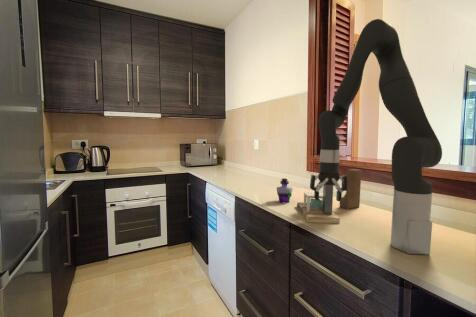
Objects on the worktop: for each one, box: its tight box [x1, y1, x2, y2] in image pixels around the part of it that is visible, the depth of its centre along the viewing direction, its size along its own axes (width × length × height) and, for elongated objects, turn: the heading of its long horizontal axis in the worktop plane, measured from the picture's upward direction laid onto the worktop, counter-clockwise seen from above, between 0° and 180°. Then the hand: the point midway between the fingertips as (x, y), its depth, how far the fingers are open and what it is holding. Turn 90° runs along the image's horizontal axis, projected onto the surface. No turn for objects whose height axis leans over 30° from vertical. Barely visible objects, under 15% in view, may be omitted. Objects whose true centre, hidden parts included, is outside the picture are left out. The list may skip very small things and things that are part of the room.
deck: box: [296, 201, 341, 224], centre depth 106 cm, size 22×12×2 cm, turn 177°
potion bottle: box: [276, 178, 293, 204], centre depth 127 cm, size 9×9×12 cm
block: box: [310, 198, 322, 207], centre depth 107 cm, size 4×4×4 cm
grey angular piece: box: [310, 184, 334, 214], centre depth 104 cm, size 11×8×12 cm
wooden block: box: [339, 168, 362, 210], centre depth 117 cm, size 9×4×18 cm, turn 118°
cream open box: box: [303, 191, 323, 211], centre depth 107 cm, size 7×9×6 cm
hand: (327, 200), depth 101 cm, fingers open, 8 cm apart
